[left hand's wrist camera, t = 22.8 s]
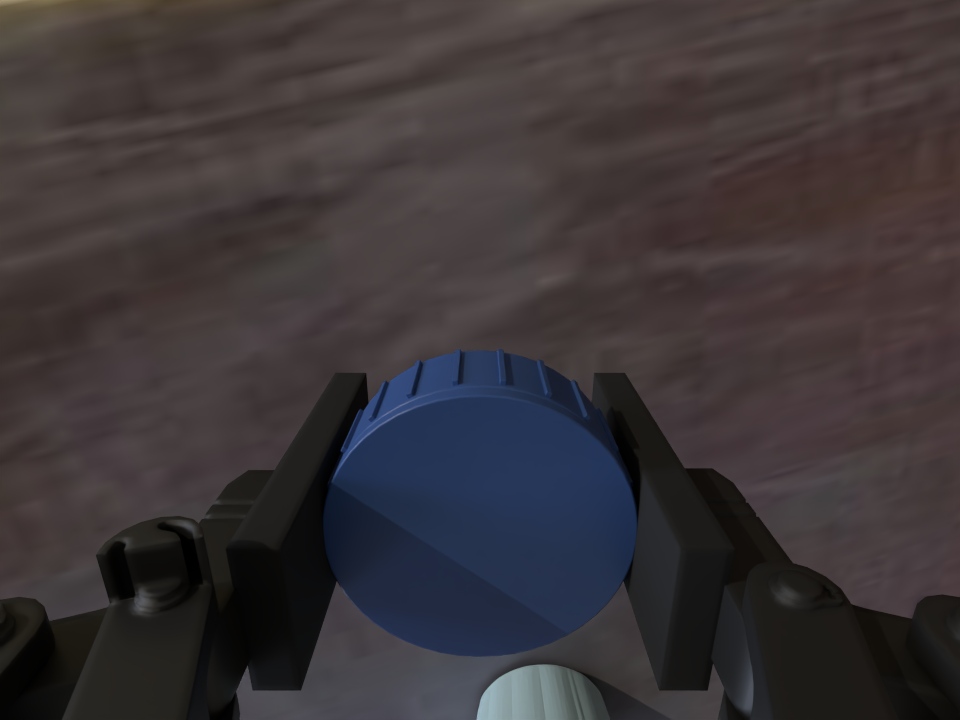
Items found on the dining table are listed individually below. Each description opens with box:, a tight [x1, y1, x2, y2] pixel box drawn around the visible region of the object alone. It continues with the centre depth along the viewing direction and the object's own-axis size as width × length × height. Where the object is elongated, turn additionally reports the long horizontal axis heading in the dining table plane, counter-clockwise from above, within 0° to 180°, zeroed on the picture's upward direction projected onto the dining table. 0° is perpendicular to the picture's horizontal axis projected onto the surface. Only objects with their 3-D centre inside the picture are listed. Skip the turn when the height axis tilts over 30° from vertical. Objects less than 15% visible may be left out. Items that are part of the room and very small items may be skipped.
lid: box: [322, 349, 638, 657], centre depth 11 cm, size 6×6×2 cm
